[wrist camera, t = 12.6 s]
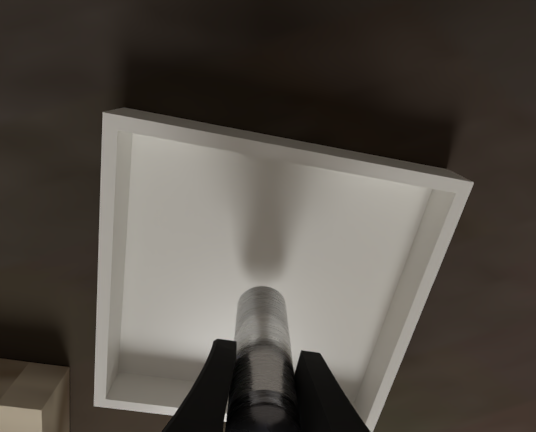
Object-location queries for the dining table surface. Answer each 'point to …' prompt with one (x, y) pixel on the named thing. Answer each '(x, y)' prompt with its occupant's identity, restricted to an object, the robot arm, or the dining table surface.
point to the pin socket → (34, 397)
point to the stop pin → (262, 366)
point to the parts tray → (258, 253)
